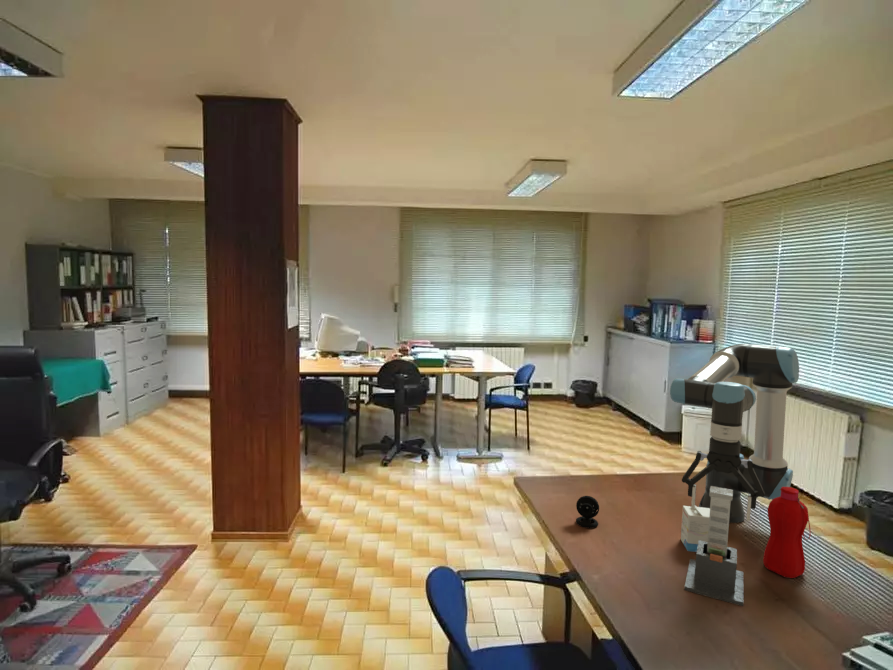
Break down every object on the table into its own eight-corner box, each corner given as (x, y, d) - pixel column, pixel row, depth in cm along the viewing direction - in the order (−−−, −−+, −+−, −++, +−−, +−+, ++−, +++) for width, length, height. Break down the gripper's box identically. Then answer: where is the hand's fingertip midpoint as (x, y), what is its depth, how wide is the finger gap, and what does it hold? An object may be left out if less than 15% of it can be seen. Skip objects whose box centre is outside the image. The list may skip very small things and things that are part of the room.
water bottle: (796, 585, 147) (804, 498, 145) (758, 566, 157) (764, 485, 155) (815, 577, 152) (822, 493, 150) (776, 560, 161) (783, 481, 159)
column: (705, 551, 151) (710, 485, 149) (728, 556, 148) (733, 489, 146) (704, 559, 146) (709, 492, 144) (727, 565, 143) (732, 496, 141)
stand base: (690, 561, 158) (692, 529, 158) (743, 575, 152) (745, 541, 151) (684, 589, 143) (686, 554, 142) (743, 606, 136) (746, 569, 135)
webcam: (573, 526, 181) (575, 497, 180) (576, 517, 188) (578, 490, 187) (597, 530, 178) (598, 501, 177) (599, 522, 185) (600, 494, 184)
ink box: (715, 554, 164) (718, 512, 163) (686, 551, 165) (689, 509, 164) (707, 542, 172) (710, 502, 171) (680, 539, 174) (682, 499, 173)
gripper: (674, 434, 147) (669, 508, 149) (779, 449, 135) (773, 529, 137) (677, 428, 154) (673, 499, 155) (777, 442, 141) (771, 518, 143)
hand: (719, 513), depth 146 cm, fingers open, 13 cm apart
